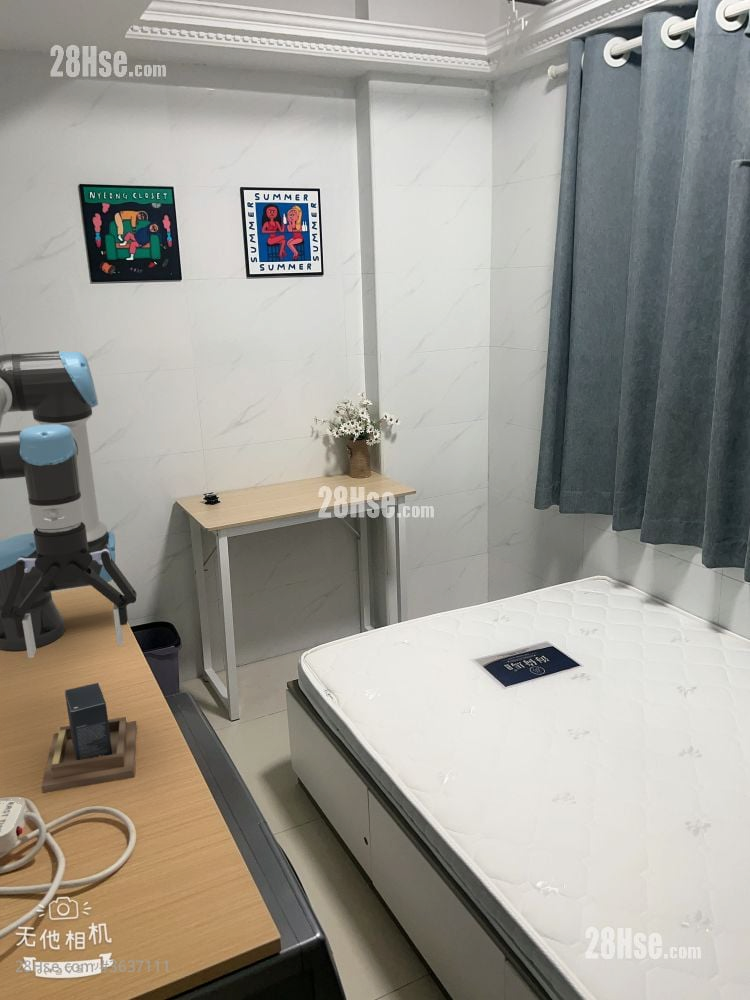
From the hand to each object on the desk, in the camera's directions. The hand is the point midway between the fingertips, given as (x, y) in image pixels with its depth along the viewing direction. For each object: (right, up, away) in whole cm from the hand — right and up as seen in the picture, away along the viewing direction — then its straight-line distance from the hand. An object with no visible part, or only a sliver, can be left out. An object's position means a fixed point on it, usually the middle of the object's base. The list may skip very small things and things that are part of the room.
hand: (77, 648), depth 123 cm
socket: (0, -20, +6) cm, 21 cm away
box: (0, -19, +6) cm, 20 cm away
